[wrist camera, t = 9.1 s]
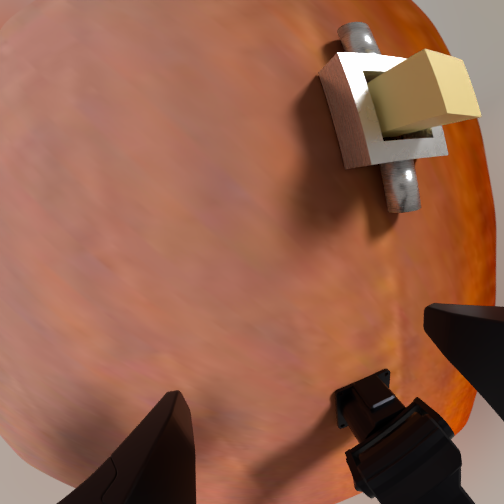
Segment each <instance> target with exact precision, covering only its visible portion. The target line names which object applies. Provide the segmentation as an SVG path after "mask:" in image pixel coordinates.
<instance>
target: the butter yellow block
mask: <svg viewBox="0 0 504 504" xmlns="http://www.w3.org/2000/svg"><path fill="white" fill-rule="evenodd" d="M367 86H368V89H369V92H370V95H371V98H372V102H373V105H374V108H375V111H376V115H377V118H378V122H379V126H380V129H381V133H382V137H395V136H400V135H404V134H408V133H412V132H416V131H420V130H424V129H428V128H432V127H436V126H441V125H445V124H450V123H454V122H459V121H464V120H469V119H474V118H479V117H481V113H480V110H479V106H478V102H477V99H476V96H475V93H474V90H473V87H472V84H471V81H470V78H469V76H468V73H467V70H466V68H465V65H464V63H463V61H462V60H461V59H458V58H455V57H452V56H448V55H445V54H442V53H438V52H435V51H431V50H427V49H423V50H422V51H420V52H418V53H416V54H414V55H413V56H411V57H409V58H408V59H406V60H404V61H402V62H401V63H399V64H397V65H396V66H394V67H392V68H391V69H389V70H387V71H386V72H384V73H383V74H381V75H379V76H378V77H376V78H375V79H373V80H372V81H370V82H368V83H367Z"/></svg>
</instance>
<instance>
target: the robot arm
mask: <svg viewBox="0 0 504 504" xmlns="http://www.w3.org/2000/svg"><path fill="white" fill-rule="evenodd" d="M423 327H424V330H425V332H426V333H427V335H428V336H429V337H430V338H431V340H432V341H433V342H434V343H435V345H436V346H437V347H438V348H439V350H440V351H441V352H442V354H443V355H444V356H445V357H446V358H447V359H448V360H449V361H450V363H451V364H452V365H453V366H454V367H455V368H456V369H457V370H458V371H459V372H460V373H461V374H462V375H463V376H464V377H465V378H466V379H467V380H468V381H469V383H470V384H471V385H472V386H473V387H474V388H475V389H476V390H477V391H478V392H479V393H480V395H482V397H483V398H484V399H485V400H486V401H487V402H488V404H489V405H490V406H491V407H492V408H493V409H494V410H495V412H496V413H497V414H498V415H499V416H500V417H501V419H502V420H503V421H504V307H497V306H474V305H456V304H440V303H433V304H430V305H429V306H427V307H426V308H425V309H424V324H423ZM389 383H390V371H389V370H388V369H384V370H382V371H380V372H377V373H375V374H373V375H371V376H369V377H367V378H364V379H362V380H360V381H357V382H355V383H353V384H350V385H348V386H345V387H343V388H340V389H338V390H337V391H336V392H335V402H336V414H337V425H338V427H339V428H340V429H341V428H344V427H347V426H349V427H350V429H351V431H352V432H353V434H354V435H355V437H356V439H357V440H358V442H359V444H358V445H356V446H355V447H354V448H352V449H349V450H348V451H346V452H345V454H346V457H347V458H346V460H347V461H346V462H347V464H348V466H349V468H350V471H351V473H352V476H353V481H354V487H355V489H356V490H357V491H360V492H364V493H365V494H366V495H367V496H368V497H370V498H374V497H376V498H377V499H378V501H379V502H380V503H381V504H475V503H474V502H473V500H472V499H471V498H470V497H469V495H468V494H467V493H466V492H465V490H464V489H463V488H462V487H461V466H462V460H461V454H460V451H459V449H458V448H457V447H456V445H455V444H454V443H453V442H452V441H451V439H452V438H453V437H454V433H453V431H452V429H451V428H450V426H449V425H448V424H447V423H446V421H445V420H444V419H443V418H442V417H441V416H440V415H439V414H438V413H437V412H435V411H434V410H433V409H432V408H431V407H429V406H428V405H427V404H426V403H424V402H423V401H422V400H421V399H420V398H418V397H416V398H415V399H414V400H413V402H412V403H411V404H410V405H409V406H407V407H405V406H404V405H403V404H402V403H401V402H400V401H399V399H398V398H397V397H396V396H395V394H394V393H393V392H392V391H391V390H390V389H389ZM57 504H196V471H195V445H194V437H193V429H192V421H191V413H190V409H189V407H188V405H187V403H186V401H185V399H184V397H183V395H182V393H181V392H180V391H178V390H176V391H170V392H167V393H166V394H165V395H164V396H163V397H162V399H161V400H160V401H159V402H158V403H157V404H156V405H155V407H154V408H153V409H152V410H151V411H150V412H149V413H148V415H147V416H146V417H145V418H144V419H143V420H142V421H141V422H140V424H139V425H138V426H137V427H136V428H135V429H134V430H133V431H132V432H131V434H130V435H129V436H128V437H127V438H126V439H125V440H124V441H123V442H122V443H121V445H120V446H119V447H118V448H117V449H116V450H115V451H114V452H113V453H112V454H111V457H109V458H108V459H107V460H106V461H105V462H104V463H103V464H102V465H101V466H100V467H99V468H98V469H97V470H96V471H95V472H94V473H93V474H92V475H91V476H90V477H89V478H87V479H86V480H85V481H84V482H83V483H82V484H81V485H79V486H78V487H77V488H76V489H75V490H74V491H72V492H71V493H70V494H69V495H67V496H66V497H65V498H64V499H62V500H61V501H60V502H58V503H57Z"/></svg>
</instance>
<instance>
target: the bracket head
mask: <svg viewBox="0 0 504 504" xmlns="http://www.w3.org/2000/svg"><path fill="white" fill-rule="evenodd" d="M337 33H338V36H339V38H340V40H341V43H342V45H343V47H344V50H345V52H346V53H344V52H337V53H336V55H335V56H334V57H333V58H332V59H331V60H330V61H329V62H328V63H327V64H326V65H325V66H324V67H323V68H322V69H321V70H320V71H319V72H318V74H319V77H320V80H321V83H322V86H323V89H324V93H325V96H326V99H327V102H328V105H329V109H330V112H331V116H332V119H333V123H334V126H335V130H336V134H337V138H338V142H339V146H340V150H341V154H342V158H343V162H344V166H345V169H351V168H356V167H362V166H369V165H375V164H379V165H380V170H381V175H382V180H383V185H384V190H385V196H386V202H387V208H388V212H391V213H403V212H410V211H415V210H418V209H420V208H421V202H420V195H419V188H418V182H417V177H416V171H415V166H414V161H413V159H418V158H426V157H434V156H443V155H448V151H447V146H446V141H445V137H444V133H443V129H442V125H441V126H436V127H432V128H428V129H424V130H420V131H416V132H412V133H408V134H404V135H403V138H404V140H392V141H383V137H382V133H381V129H380V126H379V122H378V118H377V115H376V111H375V108H374V105H373V102H372V98H371V95H370V92H369V89H368V86H367V83H368V82H370V81H372V80H373V79H375V78H376V77H378V76H379V75H381V74H383V73H384V72H386V71H387V70H389V69H391V68H392V67H394V66H396V65H397V64H399V63H401V62H402V61H404V60H406V59H405V58H399V57H392V56H383V55H381V53H380V51H379V48H378V46H377V44H376V41H375V39H374V37H373V35H372V33H371V30H370V28H369V26H368V25H367V24H365V23H362V22H352V23H348V24H345V25H343V26H341V27H340V28H339V29H338V31H337Z"/></svg>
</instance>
